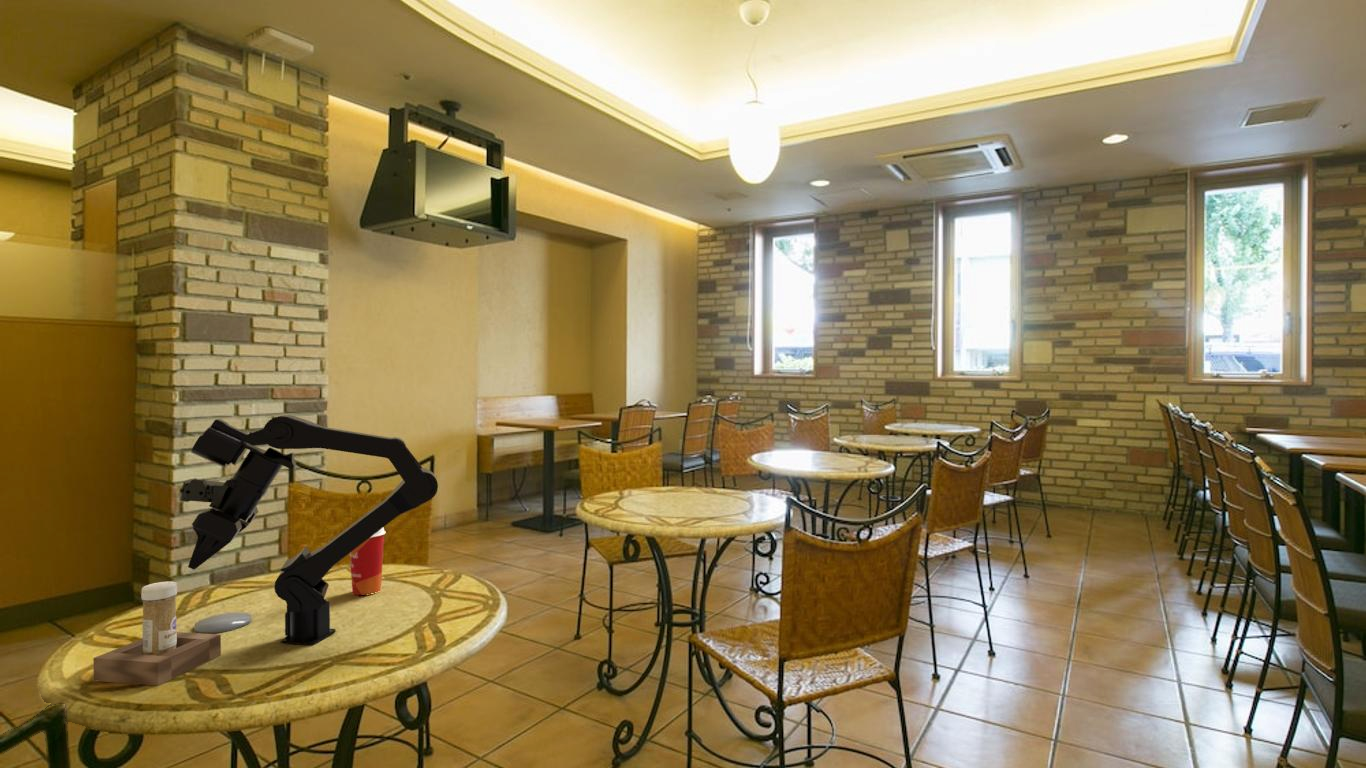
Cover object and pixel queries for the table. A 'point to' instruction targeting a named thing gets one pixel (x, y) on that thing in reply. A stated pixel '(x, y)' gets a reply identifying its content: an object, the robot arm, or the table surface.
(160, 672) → the walnut caddy
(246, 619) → the slate coaster
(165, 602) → the sprinkles bottle
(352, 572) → the paper cup
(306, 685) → the table surface
